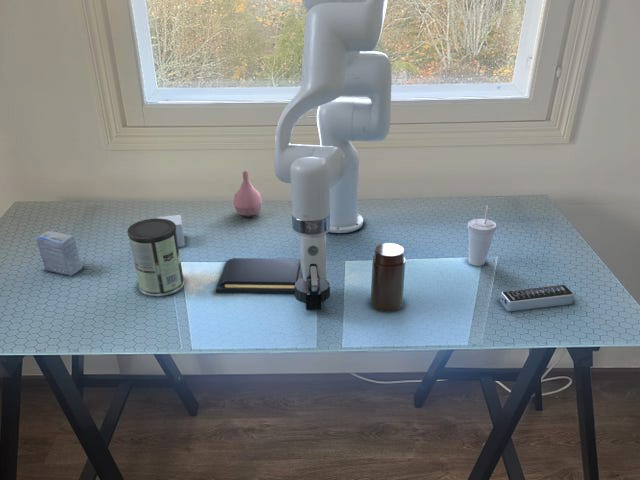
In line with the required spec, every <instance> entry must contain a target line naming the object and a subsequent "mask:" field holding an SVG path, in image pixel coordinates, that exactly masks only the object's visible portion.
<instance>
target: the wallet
mask: <svg viewBox="0 0 640 480" xmlns="http://www.w3.org/2000/svg"><path fill="white" fill-rule="evenodd" d="M301 278H303V274H302V269H301V262H300V258H264V257H263V258H261V257H259V258H258V257H257V258H254V257H253V258H251V257H250V258H249V257H233V258H230V259H228V260H226V261H225V263H224V266H223V270H222V272H221V275H220V278H219V280H218V283H217V286H216V289H215V292H216V293H220V294H221V293H225V294H230V293H231V294H283V295H284V294H286V295H287V294H293V295H295V288H294V287H295V283H296V281H298V280H299V279H301Z"/></svg>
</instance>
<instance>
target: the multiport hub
mask: <svg viewBox="0 0 640 480" xmlns="http://www.w3.org/2000/svg"><path fill="white" fill-rule="evenodd" d="M574 297H575V293H574V292H573V291H572V289H570V288H569V287H568V286H567V285H566V284H557V285H548V286H542V287H541V286H540V287H533V288H523V289H515V290H513V289H512V290H506V291H501V294H500V299H499V300H500V301H499V303H500V304H501V305H502V306H503V307H504V308H505V310H506V311H507V312H516V311H517V312H518V311H525V310H534V309H540V308H550V307H551V308H552V307H556V306H557V307H559V306H566V305H572V304H573V300H574Z"/></svg>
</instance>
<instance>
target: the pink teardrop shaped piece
mask: <svg viewBox="0 0 640 480" xmlns="http://www.w3.org/2000/svg"><path fill="white" fill-rule="evenodd" d="M249 177H250V176H249V171H247V170H244V171H242V182H241V185H240V187H239V189H238V190H237V191H236V192H235V194H234V196H233V206H234V208H235V211H236V213H237V214H238V215H241V216H244V217H248V218H249V217H253V215H256V214H259V213H260V212H261V208H262V205H263V201H262V197H261V193H260V192H259V191H258V190H257V189H256V188H254V187H253V185H252V183H251V181H250V178H249Z"/></svg>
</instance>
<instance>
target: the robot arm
mask: <svg viewBox="0 0 640 480" xmlns="http://www.w3.org/2000/svg"><path fill="white" fill-rule="evenodd" d="M302 3H303V6H304V9H305V11H306V12H307V13H306V16H305V19H304V20H305V21H304V30H303V31H304V34H303V47H302V48H303V49H302V65H301V79H300V80H301V82H300V88H299V90H298V91H297V93H296V94H295V95H294V96H293V98H292V99H291V100H290V101H289V102H288V104H287V105H286V106H285V108H284V109H283V111H282V113H281V115H280V117H279V119H278V122H277V126H276V130H275V138H274V140H275V141H274V153H273V162H274V163H273V166H274V167H273V168H274V169H273V170H274V174H275V176H276V178H277V179H278V180H279V181H280V182H282V183H285V184H290V195H291V197H290V198H291V227H292V229H291V230H292V232H293V233H294V234H295V235H297V236H298V251H299V259H300V262H301V269H302V274H303V280H304V281H305V282H307V293H306V304H305V309H306V311H320V310H322V308H323V307H322V306H323V305H322V303H321V291H320V279H321V281H323V280H324V281H326V280H327V279H328V273H327V242H326V241H327V240H326V234H328V233H332V234H346V233H352V232H355V231H358V230H359V229H361V228H362V227H363V225H364V217H363V216H362V215H361V214H360V213H358V212H359V181H360V180H359V178H360V177H359V176H360V175H359V173H360V156H359V153H358V151H357V149H356V148H355V146H354V145H353V143H352V142H369V143H370V142H371V143H372V142H373V143H374V142H375V143H377V142H382V141H384V140H385V139H386V138H387V137H388V135H389V132H390V128H391V110H392V109H391V107H392V82H393V81H392V79H393V78H392V77H393V76H392V75H393V73H392V64H391V60H390V58H389V57H388V55H387V54H386V53H384V52H382V51H381V52H380V51H374V50H376V48H377V46H378V44H379V42H380V39H381V36H382V31H383V26H384V21H385V15H386V11H387V6H388V0H302ZM316 108H317V111H316V123H317V128H318V129H317V130H318V135H319V142H320V143H319V144H320V145H316V144H294V143H292V144H291V141H292V140H291V139H292V134H293V130H294V128H295V126H296V124H297V123H298V121H300V119H301V118H302V117H303V116H304V115H306V114H307V113H309V112H311V111H313V110H315V109H316ZM309 276H311V279H308V277H309ZM317 277H318V279H317ZM309 282H311V286H310V288H309Z"/></svg>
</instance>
